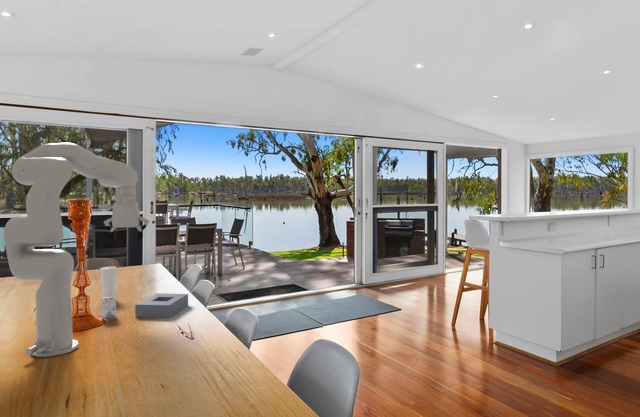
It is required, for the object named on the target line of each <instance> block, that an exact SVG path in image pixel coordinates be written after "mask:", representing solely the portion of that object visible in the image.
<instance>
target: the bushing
mask: <svg viewBox="0 0 640 417" xmlns="http://www.w3.org/2000/svg"><path fill="white" fill-rule="evenodd" d="M102 318H103V319H106V320H108V321H107V322H110V321H113V320H114V321H115V320H116V319H117V296H116V297H106V298H103V297H102V298H101V319H102Z"/></svg>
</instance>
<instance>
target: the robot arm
mask: <svg viewBox="0 0 640 417" xmlns="http://www.w3.org/2000/svg"><path fill="white" fill-rule="evenodd" d="M73 172H75V173H77V174H79V175H81V176H83V177H85V178H89V179H95V180H97V182H98V183H99V184H100V186H102V187H104V188H115V195H114V196H112V197H111V200H112V201H115V202H113V206H112V213H111V217H110V218H108V219H105V220H104V221H103V224H104V226H105V227H106V229H107V230H109V232H110V234H111V236H110V237H111V238H110V239H111V241H112V242H113V243H115V242H117V241H118V235H117V234H118V233H117V229H118V228H136V229H137V241H138V242H141V241H142V239H143V237H144V235H143V231H144V230H145V229H146V228H147V227H148V224H149V223H150V219H147V218H144V217H142V216H141V214H140V213H141V212H140V207H139V203H138V202H137V193H136V190H137V189H136V186H137V183H138V180H139V177H138V172H137V171H136V170H135V169H134V167H132V166H130V165H128V163H127V164H126V163H125V162H122V161H118V160H115V159H110V158H107V157H103V156H100V155H97V154H96V153H94V152H92V151H90V150H88V149H86V148H84V147H82V146H80V145H78V144H76V143H72V142H57V143H55V142H52V143H51V142H50V143H49V142H48V143H45V144H42V145H40V146H38V147H36V148H34V149H32V150H31V151H29V152H27V153H26V154H24V155H22V156H20V157H19V158H17V159H16V161H14V163H13V164H12V167H11V176H12V177H13V179H14V180H15V181H16V182H17V183H18V184H21V185H24V186H31V187H30V189H29V190H28V193H27V195H26V196H25V208H26V209H25V210H26V215H24V214H22V215H15V216H13V217H11V218H10V219H9V220H8V221H7V222H6V223H5V226H4V229H3V240H4V246H5V247H4V248H5V250H6V251H5V252H6V257H7V260H8V261H7V262H8V265H9V266H8V267H9V269H10V272H11V274H12V275H13V277H15V278H16V279H19V280H23V281H24V280H25V281H42V282H40V285H39V286H38V288H37V290H36V293H35V296H34V297H35V299H34V302H35V325H36V326H35V328H36V340H34V344H33V346H29V347H28V348H26V349H25V354H26V355H27V356H30V355H32V356H34V357H37V358H47V357H48V358H49V357H56V356H60V355H64V354H68V353H70V352H73V351H74V350H77V349H78V347H79V341H78V340H76V339H74V338H73V337H74V336H73V313H72V312H73V308H72V304H73V303H72V279H73V272H74V269H75V268H74V267H75V260H74V257H73V255H72V254H71V253H70V252H69V251H67V250H64V249H57V248H56V249H55V248H42V249H39V248H38V249H35V247H53V246H56V245H58V244H60V243H61V242H62V241H63V238H64V228H63V227H64V225H63V220H62V213H61V208H60V198H61V197H60V196H61V194H62V190H64V188H65V186H66V184H67V183H68V182H69V181H70V179H71V178H72V176H73ZM141 221H142V222H143V225H141ZM110 222H111V224H110ZM111 225H112V226H111Z"/></svg>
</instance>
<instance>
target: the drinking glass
mask: <svg viewBox="0 0 640 417" xmlns="http://www.w3.org/2000/svg"><path fill="white" fill-rule="evenodd" d="M99 275H100V276H99V277H100V284H101V286H100V287H101V292H102V299H103V298H106V297H116V298H117V296H116V295H117V284H118V283H117V282H118V268H117V266H113V265H112V266H111V265H110V266H103V267H100V268H99Z"/></svg>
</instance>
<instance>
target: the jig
mask: <svg viewBox="0 0 640 417" xmlns="http://www.w3.org/2000/svg"><path fill="white" fill-rule="evenodd" d="M188 306H189V294H188V293H160V292H159V293H158V292H157V293H155V294H153V295H151V296H149V297H147V298H145V299H143V300H141V301H139V302H138V303H136V304H134V308H135V309H134V313H135V314H134V316H135V318H154V319H155V318H156V319H157V318H160V319H161V318H162V319H170V318H172V317H174V316H175V315H176V314H178V313H179V312H181V311H182V310H184V309H185V308H186V307H188Z"/></svg>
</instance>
